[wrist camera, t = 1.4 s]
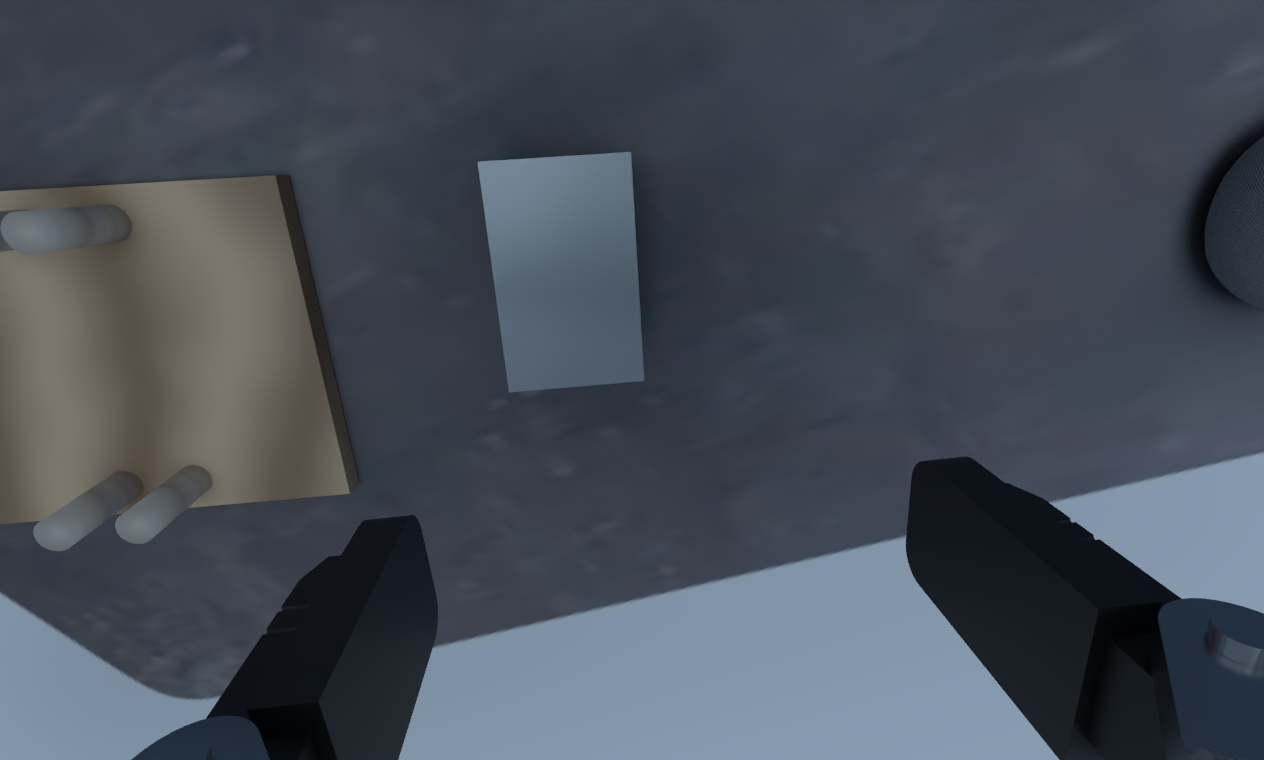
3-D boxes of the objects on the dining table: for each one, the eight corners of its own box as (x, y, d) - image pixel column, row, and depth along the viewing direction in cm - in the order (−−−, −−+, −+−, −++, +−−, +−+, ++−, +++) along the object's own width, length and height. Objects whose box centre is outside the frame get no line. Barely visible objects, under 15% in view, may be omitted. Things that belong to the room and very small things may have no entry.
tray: (8, 511, 29) (-110, 582, 24) (-132, 199, 24) (-315, 207, 19) (358, 481, 30) (314, 543, 25) (289, 175, 25) (218, 176, 20)
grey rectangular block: (522, 347, 28) (507, 392, 23) (498, 163, 26) (475, 161, 20) (632, 338, 28) (645, 380, 23) (620, 155, 26) (632, 152, 20)
